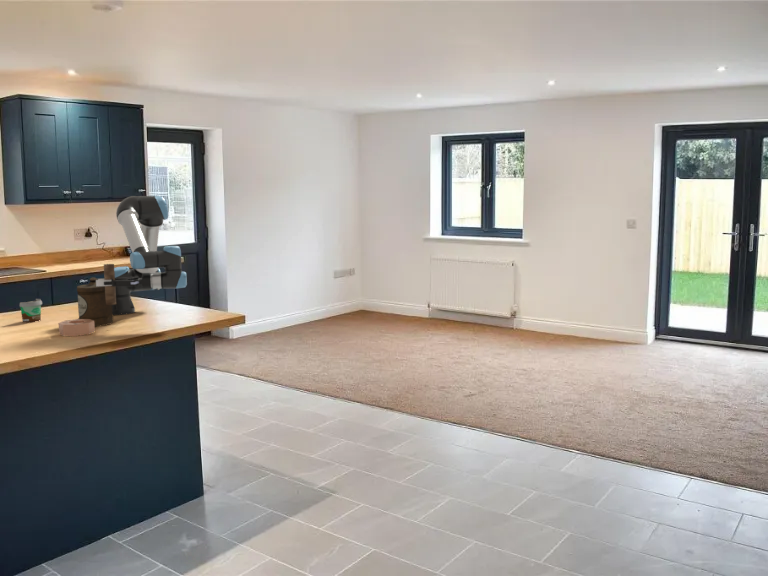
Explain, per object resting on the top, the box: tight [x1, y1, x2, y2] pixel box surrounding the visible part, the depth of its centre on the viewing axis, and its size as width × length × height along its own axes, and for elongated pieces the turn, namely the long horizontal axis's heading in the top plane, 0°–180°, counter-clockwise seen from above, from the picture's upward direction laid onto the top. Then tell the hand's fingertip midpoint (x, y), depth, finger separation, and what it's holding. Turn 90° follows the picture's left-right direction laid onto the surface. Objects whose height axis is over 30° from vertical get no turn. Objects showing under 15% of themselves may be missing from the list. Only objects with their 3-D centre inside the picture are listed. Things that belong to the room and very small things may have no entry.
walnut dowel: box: [103, 263, 116, 305], centre depth 321 cm, size 4×4×18 cm
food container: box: [19, 298, 43, 323], centre depth 343 cm, size 12×6×10 cm, turn 168°
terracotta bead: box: [58, 318, 96, 337], centre depth 314 cm, size 13×13×5 cm
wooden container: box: [76, 276, 114, 327], centre depth 336 cm, size 15×15×22 cm
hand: (97, 282), depth 319 cm, fingers closed on walnut dowel, 4 cm apart
